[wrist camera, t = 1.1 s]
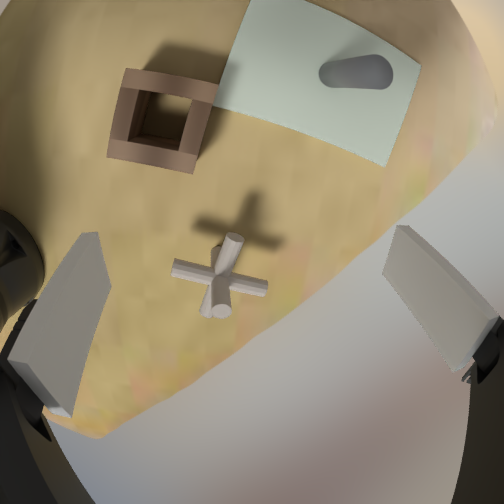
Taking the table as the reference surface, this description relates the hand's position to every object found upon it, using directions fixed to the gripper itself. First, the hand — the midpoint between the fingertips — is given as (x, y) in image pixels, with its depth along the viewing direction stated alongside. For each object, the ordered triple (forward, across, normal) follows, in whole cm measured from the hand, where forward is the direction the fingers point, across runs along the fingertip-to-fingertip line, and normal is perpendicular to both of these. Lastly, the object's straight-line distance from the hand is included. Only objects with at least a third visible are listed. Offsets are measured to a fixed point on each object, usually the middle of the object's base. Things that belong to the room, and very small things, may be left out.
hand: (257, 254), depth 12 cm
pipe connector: (+19, -1, -12) cm, 22 cm away
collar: (+19, -6, +4) cm, 21 cm away
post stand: (+19, +10, +9) cm, 23 cm away
